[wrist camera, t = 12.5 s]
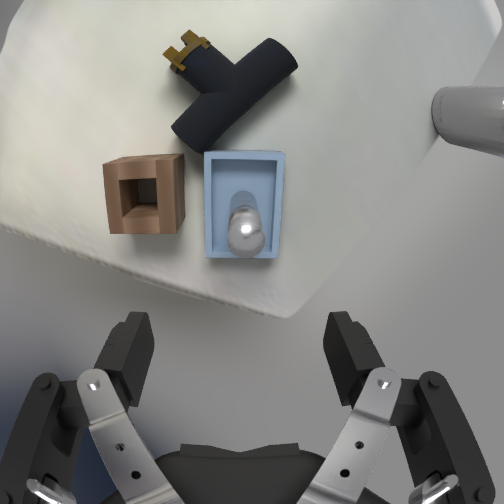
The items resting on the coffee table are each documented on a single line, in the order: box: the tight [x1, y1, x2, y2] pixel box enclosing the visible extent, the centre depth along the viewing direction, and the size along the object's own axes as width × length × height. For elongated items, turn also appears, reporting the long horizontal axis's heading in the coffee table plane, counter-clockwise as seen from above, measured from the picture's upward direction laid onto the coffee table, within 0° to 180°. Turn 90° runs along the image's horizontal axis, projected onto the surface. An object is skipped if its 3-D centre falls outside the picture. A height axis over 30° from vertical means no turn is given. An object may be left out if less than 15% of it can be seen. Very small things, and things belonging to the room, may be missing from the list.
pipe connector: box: [162, 30, 298, 154], centre depth 27 cm, size 12×5×15 cm
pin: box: [227, 191, 265, 258], centre depth 29 cm, size 3×3×12 cm
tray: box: [204, 150, 285, 258], centre depth 34 cm, size 9×13×3 cm
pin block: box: [103, 154, 185, 234], centre depth 32 cm, size 8×8×6 cm
